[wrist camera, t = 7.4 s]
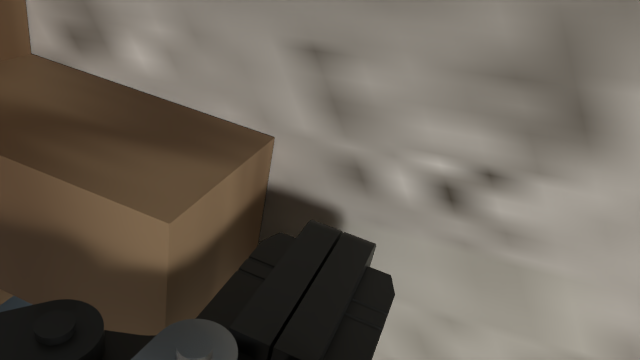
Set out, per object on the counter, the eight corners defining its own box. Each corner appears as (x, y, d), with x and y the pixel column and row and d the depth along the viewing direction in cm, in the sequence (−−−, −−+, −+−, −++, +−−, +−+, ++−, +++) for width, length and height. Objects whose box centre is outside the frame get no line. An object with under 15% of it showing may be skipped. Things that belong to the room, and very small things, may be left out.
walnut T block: (302, -37, 10) (179, -20, 6) (241, 351, 15) (159, 472, 12) (-104, -142, 12) (-354, -170, 8) (-28, 229, 17) (-161, 302, 14)
